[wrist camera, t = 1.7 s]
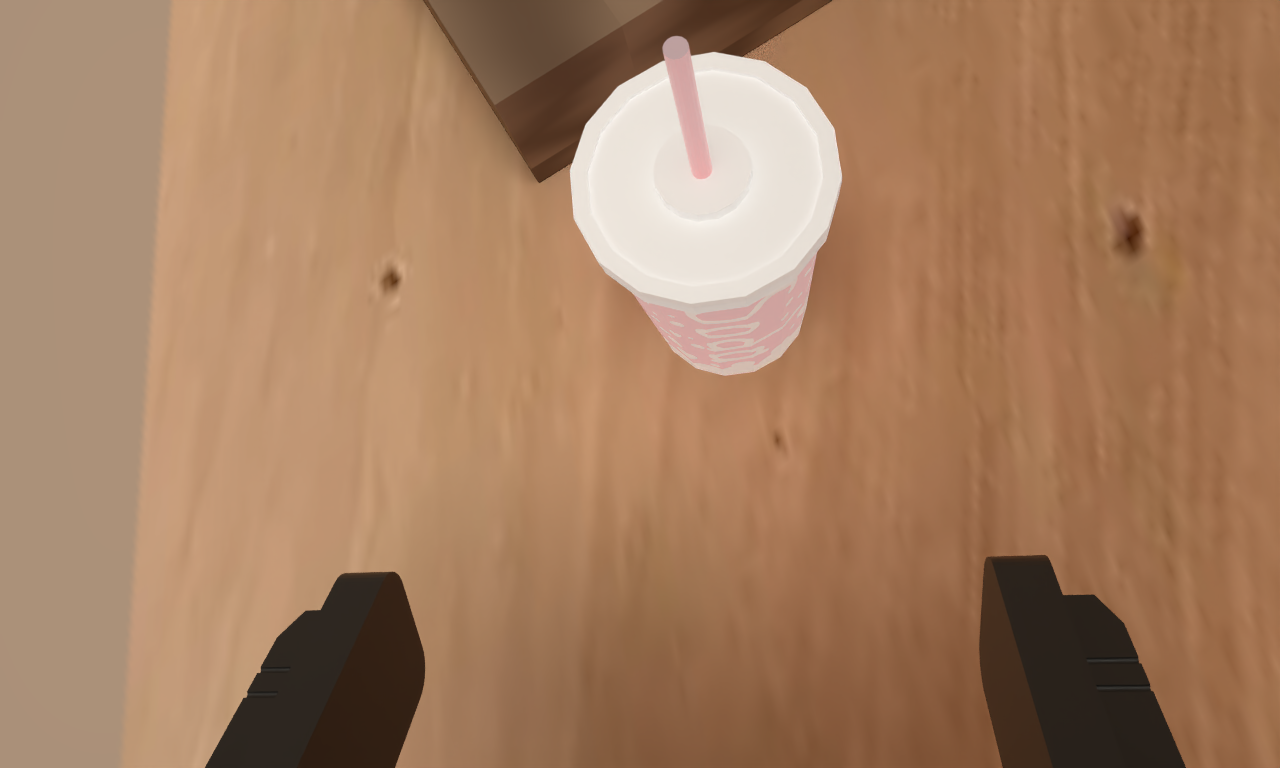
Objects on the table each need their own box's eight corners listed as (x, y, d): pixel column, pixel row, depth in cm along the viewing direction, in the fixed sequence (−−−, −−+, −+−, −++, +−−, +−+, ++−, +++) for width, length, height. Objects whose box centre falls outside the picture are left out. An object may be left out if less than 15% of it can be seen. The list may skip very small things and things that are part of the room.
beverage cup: (622, 394, 31) (486, 203, 18) (642, 208, 33) (529, -98, 19) (826, 406, 30) (842, 213, 17) (837, 213, 32) (861, -105, 18)
